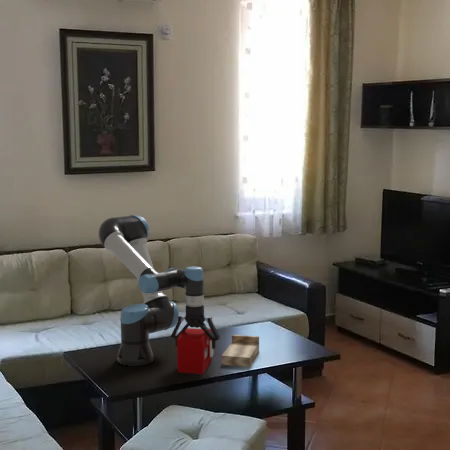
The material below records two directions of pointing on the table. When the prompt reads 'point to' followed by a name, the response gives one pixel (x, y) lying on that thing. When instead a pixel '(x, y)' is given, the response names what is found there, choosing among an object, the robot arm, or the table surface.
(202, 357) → the fire alarm
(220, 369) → the table surface
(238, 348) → the wooden toy bed
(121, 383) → the table surface
